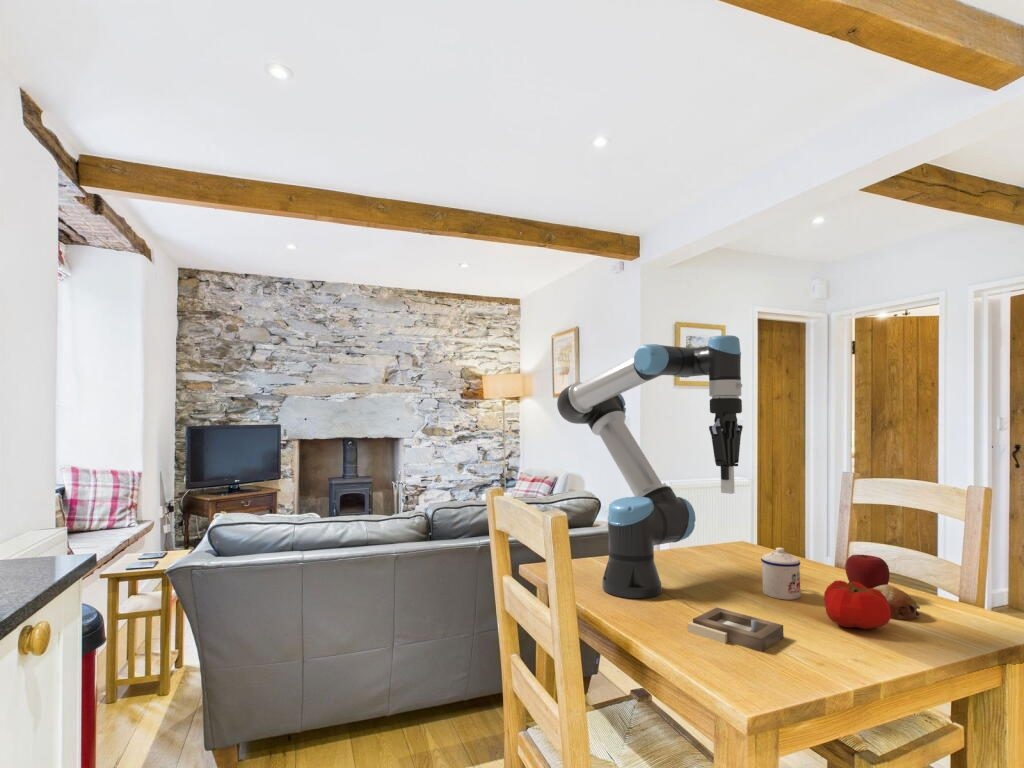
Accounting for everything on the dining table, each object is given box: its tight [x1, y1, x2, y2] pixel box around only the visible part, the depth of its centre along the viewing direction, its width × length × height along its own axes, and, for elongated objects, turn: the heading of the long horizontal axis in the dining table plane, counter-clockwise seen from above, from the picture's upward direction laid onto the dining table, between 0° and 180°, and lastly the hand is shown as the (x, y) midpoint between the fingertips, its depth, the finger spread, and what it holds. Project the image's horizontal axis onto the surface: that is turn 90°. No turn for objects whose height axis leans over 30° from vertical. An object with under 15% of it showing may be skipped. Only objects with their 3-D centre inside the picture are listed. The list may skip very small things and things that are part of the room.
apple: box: [845, 554, 890, 589], centre depth 142 cm, size 10×10×10 cm
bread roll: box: [873, 584, 921, 621], centre depth 129 cm, size 10×10×8 cm
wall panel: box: [686, 620, 758, 644], centre depth 114 cm, size 22×16×5 cm
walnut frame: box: [692, 607, 784, 653], centre depth 113 cm, size 14×10×2 cm
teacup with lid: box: [760, 547, 801, 601], centre depth 143 cm, size 12×9×12 cm
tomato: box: [823, 579, 892, 630], centre depth 121 cm, size 14×13×9 cm
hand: (727, 492), depth 138 cm, fingers closed
